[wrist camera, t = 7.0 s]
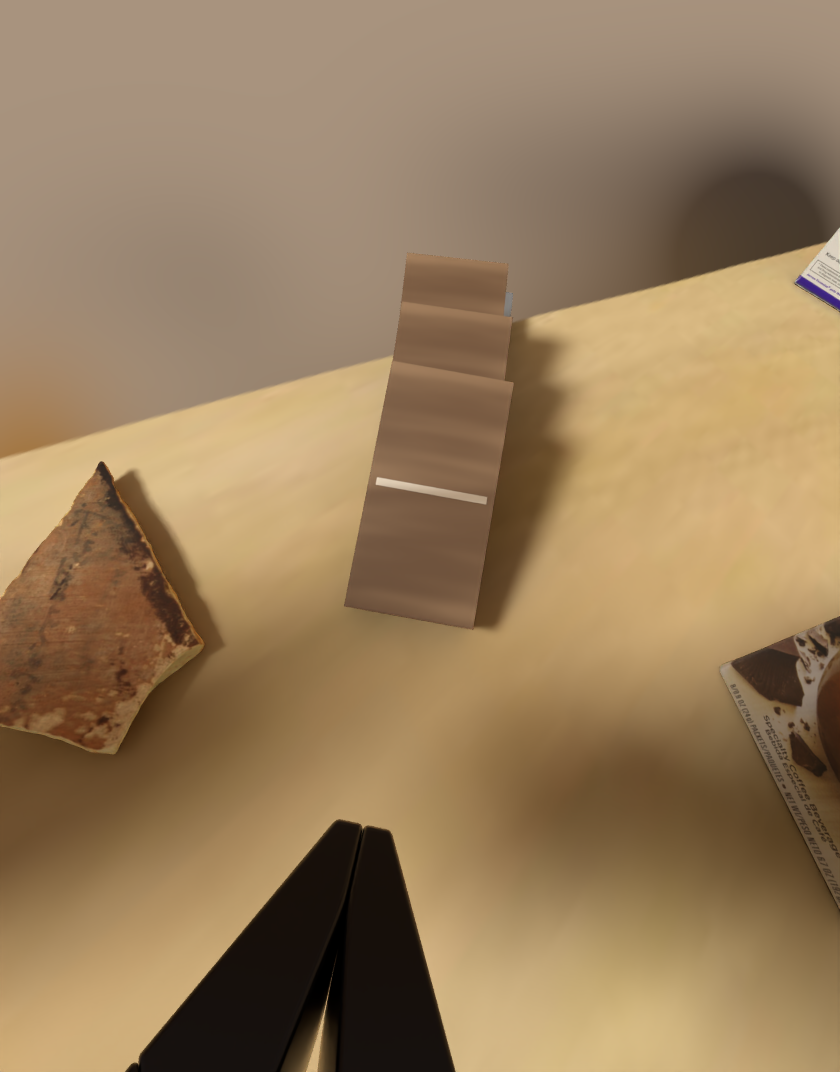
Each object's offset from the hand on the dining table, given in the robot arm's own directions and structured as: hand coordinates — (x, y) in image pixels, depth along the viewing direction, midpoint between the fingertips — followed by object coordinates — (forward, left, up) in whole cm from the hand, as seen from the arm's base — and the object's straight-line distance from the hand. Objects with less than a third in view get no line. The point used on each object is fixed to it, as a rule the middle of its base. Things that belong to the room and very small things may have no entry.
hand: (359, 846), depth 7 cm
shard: (+5, +13, -11) cm, 18 cm away
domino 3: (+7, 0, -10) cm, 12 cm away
